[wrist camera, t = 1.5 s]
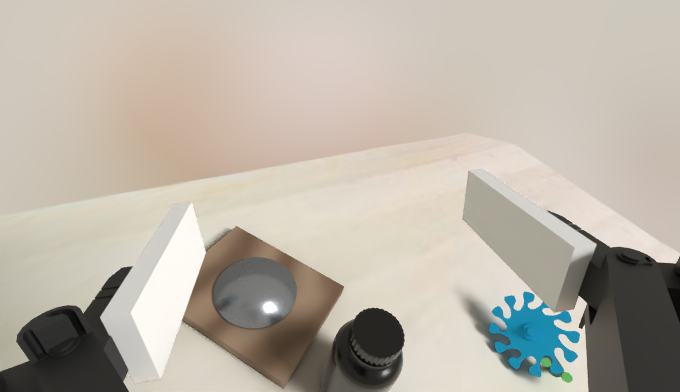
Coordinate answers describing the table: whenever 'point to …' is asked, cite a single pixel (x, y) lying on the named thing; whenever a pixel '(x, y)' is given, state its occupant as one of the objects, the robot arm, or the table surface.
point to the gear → (535, 336)
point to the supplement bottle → (365, 354)
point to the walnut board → (260, 303)
